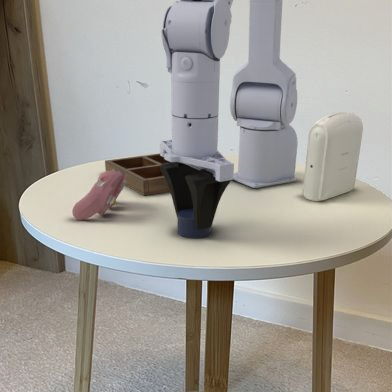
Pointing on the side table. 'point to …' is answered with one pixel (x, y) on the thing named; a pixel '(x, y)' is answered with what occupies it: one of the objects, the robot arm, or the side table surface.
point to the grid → (141, 173)
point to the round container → (189, 225)
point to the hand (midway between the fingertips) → (193, 222)
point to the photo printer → (332, 156)
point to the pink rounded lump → (100, 195)
